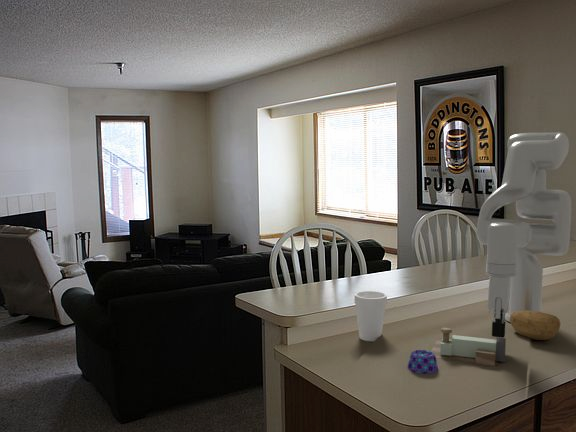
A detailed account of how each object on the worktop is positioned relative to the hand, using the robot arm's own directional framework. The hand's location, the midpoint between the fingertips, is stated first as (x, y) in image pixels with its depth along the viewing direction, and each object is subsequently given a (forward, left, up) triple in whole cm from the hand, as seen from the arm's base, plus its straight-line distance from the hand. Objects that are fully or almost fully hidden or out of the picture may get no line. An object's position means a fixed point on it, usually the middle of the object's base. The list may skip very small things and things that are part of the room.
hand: (498, 336), depth 152 cm
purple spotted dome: (+21, -16, -6) cm, 27 cm away
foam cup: (0, -35, -5) cm, 36 cm away
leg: (+8, -6, -3) cm, 10 cm away
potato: (-18, +9, -5) cm, 20 cm away
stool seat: (+4, -8, -5) cm, 10 cm away
